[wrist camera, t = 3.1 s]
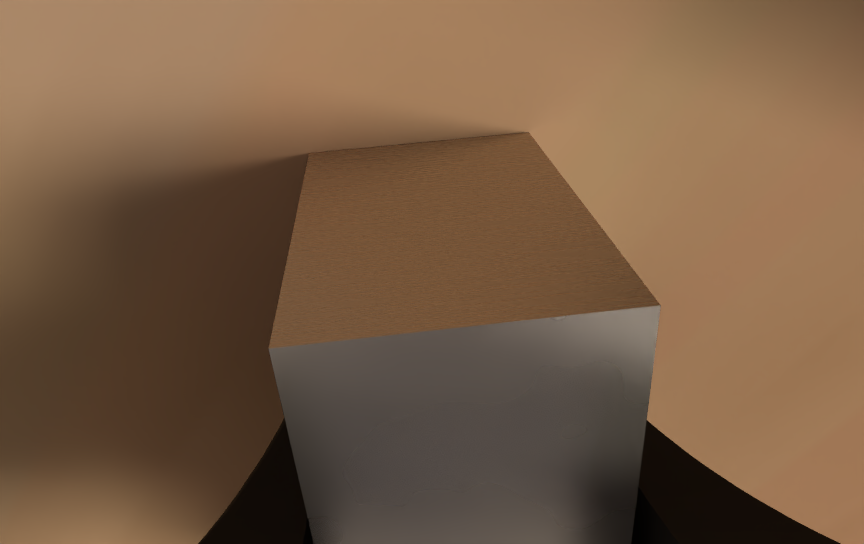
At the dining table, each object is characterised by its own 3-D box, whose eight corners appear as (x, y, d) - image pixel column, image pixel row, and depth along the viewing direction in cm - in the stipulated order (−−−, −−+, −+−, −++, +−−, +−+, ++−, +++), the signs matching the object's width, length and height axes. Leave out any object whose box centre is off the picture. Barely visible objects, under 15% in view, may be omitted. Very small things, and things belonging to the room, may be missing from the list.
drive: (528, 132, 12) (661, 305, 7) (526, 510, 17) (601, 781, 12) (308, 153, 12) (268, 348, 6) (371, 530, 17) (376, 815, 11)
